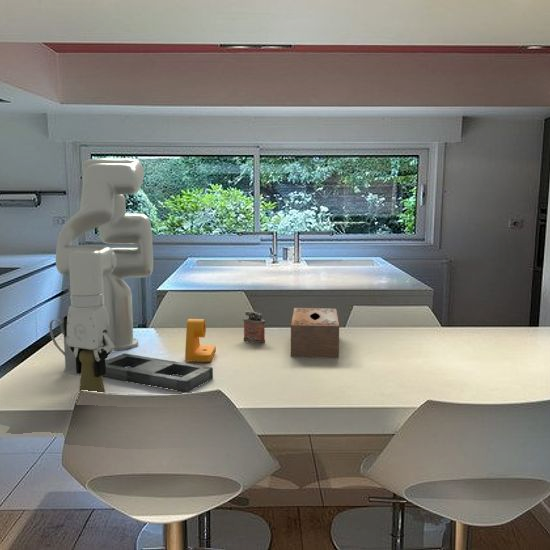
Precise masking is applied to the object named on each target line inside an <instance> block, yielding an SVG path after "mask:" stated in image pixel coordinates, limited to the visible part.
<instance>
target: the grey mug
mask: <svg viewBox="0 0 550 550" xmlns="http://www.w3.org/2000/svg"><path fill="white" fill-rule="evenodd" d="M67 316H68V315H65V316H63V321H62V320H60V319H57V318H54V319H52V320H50V323H49V334H50V337H51V340H52V342H53V344H54V346H55V347H56V348H57V349H58V350H59V352H61V354H62V355H63V356H64V365H65V367H64V369H63V373H65V374H66V375H75V376H77V375H81V373H80V374H77V373H76V358H75V357H74V356H73V352H72V350H71V349H70V347H69V346H68V345H67V343H66V339H67ZM54 321H56V322H57V323H58V324H59V326H60V329H61V330H60V331H61V334H62V335H63V346H64V347H63V348H64V350H63V349H62V348H61V347H60V346H59V344H58V343H57V341H56V338H55V336H54V333H53V322H54Z"/></svg>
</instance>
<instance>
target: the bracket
mask: <svg viewBox="0 0 550 550" xmlns="http://www.w3.org/2000/svg"><path fill="white" fill-rule="evenodd" d="M186 321H187V322H186V330H185V331H186V334H185V336H186V337H185V349H184V350H185V351H184V353H185V354H184V358H185V359H184V361H185V362H204V363H205V362H206V363H207V362H211V361H213V360H214V359H215V357H216V356H215V355H216V353H217V349H216V348H217V347H216V345H215V344H214V345H213V344H211V345H210V344H200V343H201V342H200V338H205V336H206V331H207V323H206V319H205V318H188V319H187V320H186ZM214 356H215V357H214ZM213 358H214V359H213Z"/></svg>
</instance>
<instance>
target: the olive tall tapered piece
mask: <svg viewBox="0 0 550 550" xmlns="http://www.w3.org/2000/svg"><path fill="white" fill-rule="evenodd" d="M99 353H101V350H99ZM79 360H80V362H81V363H82V367H81V374H80V381H79V391H81V390H88V391H97V392H104V393H105V392H106V390H105V385H104V380H103V379H104V377H102V376H99V377H95V375H94V361H96V359H95V355H94V351H93V350H87V349H84V350H82V351H81V352H80V354H79Z"/></svg>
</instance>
